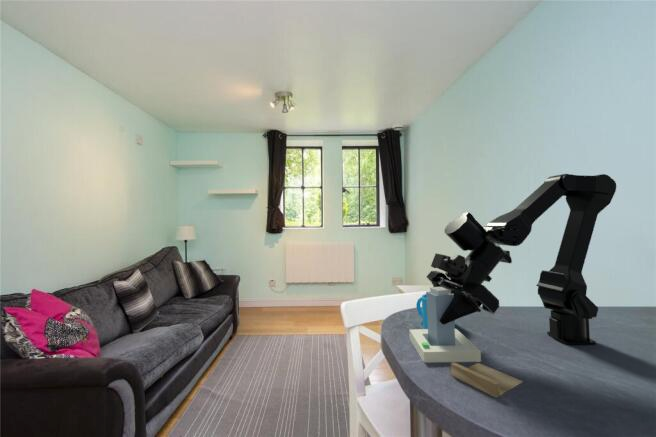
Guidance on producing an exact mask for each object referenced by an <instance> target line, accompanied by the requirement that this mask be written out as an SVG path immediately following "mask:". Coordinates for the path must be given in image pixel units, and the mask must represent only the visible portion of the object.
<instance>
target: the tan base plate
mask: <svg viewBox="0 0 656 437" xmlns="http://www.w3.org/2000/svg"><path fill="white" fill-rule="evenodd" d="M450 373H451V374H450V375H451V377H454V378H456V379H458V380H460V381H462V382H464V383H466V384H468V385H470V386H472V387H474V388H476V389H478V390H480V391H482V392H484V393H486V394H488V395H490V396H492V397H494V398H499V397H500V396H501V395H503V394H505V393H507V392H508V391H510V390H512V389H513V388H515V387H518V385H520V384H522V383H523V382H524V381H523V380H521V379H518V378H516V377H514V376H512V375H511V376H510V375H509V374H506V373H504V372H502V371H499V370H497V369H494V368H492V367H489V366H487V365H484V364H482V363H480V362H475V364H472V365H470V366H468V367H466V366H464V365H462V364H459V363H458V362H451V363H450Z"/></svg>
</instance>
